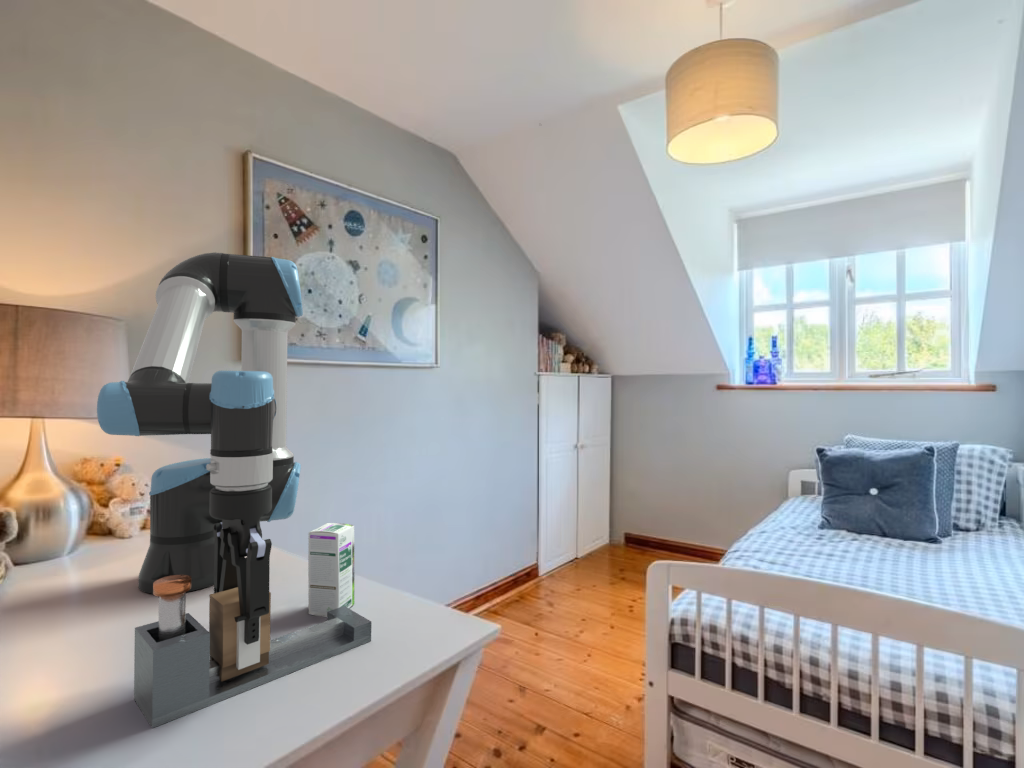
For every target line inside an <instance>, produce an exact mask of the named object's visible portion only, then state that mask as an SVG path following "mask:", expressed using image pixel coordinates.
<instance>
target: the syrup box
mask: <svg viewBox="0 0 1024 768" xmlns="http://www.w3.org/2000/svg"><path fill="white" fill-rule="evenodd" d="M307 535H308V538H307V539H308V543H307V545H308V549H307V550H308V551H307V552H308V553H307V554H308V558H307V559H308V567H307V568H308V569H307V571H308V614H309V615H311V616H317V617H325V618H327V612H328V611H331V610H334V609H337V608H340V607H343V606H345V607H347V608H349V609H351V607H352V606H354V605H355V524H350V523H341V522H329V523H328V522H326V523H324V524H323V525H321V526H319V527H317V528H315V529H313V530H311V531H309V532H308V533H307Z"/></svg>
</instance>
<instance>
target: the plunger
mask: <svg viewBox="0 0 1024 768" xmlns="http://www.w3.org/2000/svg"><path fill="white" fill-rule="evenodd" d="M190 589H191V576H189V575H172V576H167V577H163V578H160V579H158V580H156V581H155V582H154V583H153V594H152V595H153V596H155V597H158V621H159V640H158V642H161V641H164V640H167V639H171V638H174V637H177V636H181V635H184V634H185V614H186V607H187V606H186V598H187V597H186V596H187V595H186V594H187V593H188V592H190V591H189V590H190ZM187 591H188V592H187Z"/></svg>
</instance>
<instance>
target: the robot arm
mask: <svg viewBox="0 0 1024 768" xmlns="http://www.w3.org/2000/svg"><path fill="white" fill-rule="evenodd" d="M298 270H299V269H298V267H297V264H296V263H295V262H294V261H292V260H290V259H284V258H277V257H274V256H261V255H248V254H246V255H245V254H235V253H234V254H233V253H224V252H216V251H215V252H206V253H202V254H197V255H195V256H191V257H189V258H187V259H185V260H183V261H181V262H179V263H177V264H176V265H175V266H174V267H172V268H171V269H170V270H169V271H168V272H166V273H165V274H164V276H163V277H161V280H160V282H159V283H158V286H157V288H156V291H155V301H156V303H157V306H156V309H155V311H154V314H153V316H152V318H151V321H150V324H149V326H148V329H147V331H146V334H145V336H144V339H143V342H142V344H141V347H140V349H139V352H138V354H137V356H136V360H135V362H134V365H133V368H132V370H131V372H130V374H129V377H128V379H127V381H125V380H120V381H118V382H117V381H116V382H115V381H114V382H113V381H111V382H108V383H106V384H104V385H103V386H102V387H101V388H100V390H99V393H98V396H97V400H96V417H97V421H98V425H99V427H100V429H101V430H102V431H103V432H104V433H105V434H108V435H111V436H133V437H134V436H135V437H141V436H169V435H170V436H171V435H173V436H174V435H210V450H209V451H210V452H209V454H210V457H207V458H204V457H203V458H198V459H191V460H186V461H180V462H175V463H170V464H167V465H163V466H161V467H159V468H158V469H156V470H154V472H153V473H152V475H151V478H150V479H151V480H150V481H151V482H150V491H149V492H148V493H149V494H148V495H149V497H150V498H149V500H150V502H149V503H150V504H149V509H150V511H149V514H150V515H149V524H150V525H149V538H150V539H149V546H148V549H147V552H146V555H145V558H144V560H143V562H142V565H141V568H140V570H139V573H138V583H137V584H138V589H139V590H140V591H141V592H144V593H147V594H152V595H153V583H154V582H155V581H156V580H158V579H160V578H163V577H167V576H172V575H189V576H191V589H190V590H189V591H187V592H186V593H188V592H193V591H196V590H197V591H198V590H201V589H204V588H208V587H211V586H213V594H214V593H217V592H221V591H225V590H229V589H233V588H237V587H238V593H239V605H240V616H237V617H234V619H235V621H236V622H237V650H236V668H237V669H238V670H239V669H242V668H245V667H248V666H250V665H253V664H256V663H258V662H260V616H263V615H266V614H268V613H269V592H270V558H271V557H270V556H271V552H272V547H273V546H272V544H273V543H272V539H270V538H268V539H267V538H266V539H263V533H262V528H261V522H267V523H270V522H272V521H279V520H286V519H288V518H291V517H292V516H293V515H294V512H295V507H296V503H297V497H298V490H299V482H300V477H301V476H300V474H301V469H302V468H301V466H302V464H301V463H300V462H298V461H295V462H294V460H295V459H294V456H295V455H294V453H293V452H292V451H291V450H290V449H289V448H288V447H287V402H288V401H287V398H288V334H289V332H290V331H291V330H292V329H293V328H294V327H295V326H296V323H297V322H296V318H299V317H302V316H303V315H304V311H303V308H304V307H303V303H302V302H303V301H302V292H301V291H302V290H301V283H300V277H299V271H298ZM214 312H216V313H217V312H219V313H220V312H221V313H231V314H233V323H234V324H235V325H236V326H238V327H239V329H240V330H241V356H240V357H241V363H240V365H241V369H240V370H218V371H216V372H214V373H213V374H212V377H211V382H210V383H209V382H208V383H205V382H201V383H198V382H190V380H191V379H190V378H191V375H192V371H193V367H194V365H195V364H194V363H195V360H196V356H197V351H198V347H199V344H200V340H201V337H202V333H203V329H204V326H205V322H206V319H208V318H209V317H210V316H211V315H212V314H213V313H214Z"/></svg>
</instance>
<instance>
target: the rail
mask: <svg viewBox="0 0 1024 768" xmlns="http://www.w3.org/2000/svg"><path fill="white" fill-rule="evenodd" d="M326 618H327V619H326V621H322V622H320V623H317V624H314V625H312V626H309V627H305V628H302V629H299V630H296V631H294V632H291V633H288V634H284V635H282V636H279V637H276V638H273V639H270V651H269V664H267V665H265V666H262V667H259V668H257V669H254V670H251V671H249V672H246V673H243V674H241V675H238V676H235V677H233V678H230V679H227V680H225V681H222V682H221V680H220V679H219V664H218V663H217V662H216V661H215V660H212V661H210V633H209V630H207V629H206V628H205V627H204V626H203V625H202V624H201V623H200V621H198V620H197V619H196V618H195V617H193V615H191V614H190V613H189V612H188V613H187V612H185V634H184V635H181V636H177V637H174V638H171V639H167V640H164V641H161V642H158V640H159V620H158V621H154V622H150V623H147V624H146V623H145V624H143V625H140V626H137V627H136V626H135V627H134V655H133V656H134V658H133V659H134V662H133V663H134V668H133V669H134V670H133V671H134V674H133V676H134V677H133V679H134V680H133V684H134V685H133V699H134V702H135V701H136V702H135V703H136V704H138V705H137V706H138V708H139V710H140V709H141V710H140V711H141V713H142V712H143V713H142V714H143V716H144V717H146V718H145V719H146V720H147V722H148V724H149V726H150V727H151V729H154V728H156V727H159V726H161V725H164V724H166V723H170V722H171V721H173V720H174V721H175V720H177V719H179V718H182V717H185V716H187V715H189V714H192V713H195V712H197V711H199V710H202V709H204V708H207V707H209V706H212V705H214V704H216V703H219V702H222V701H224V700H226V699H230V698H231V697H234V696H237V695H238V694H239V695H240V694H242V693H244V692H247V691H249V690H252V689H254V688H257V687H259V686H262V685H264V684H266V683H270V682H272V681H275V680H277V679H280V678H281V677H284V676H286V675H287V676H288V675H290V674H292V673H294V672H297V671H299V670H302V669H304V668H307V667H309V666H312V665H314V664H317V663H319V662H322V661H324V660H327V659H329V658H331V657H335V656H337V655H340V654H341V653H345V652H347V651H349V650H351V649H354V648H357V647H359V646H362V645H364V644H366V643H369V642H371V641H372V621H371V620H370V619H368V618H366V617H365V616H362V615H361V614H359V613H357V612H355V611H354V610H352V609H351V608H347V607H345V606H343V607H340V608H337V609H334V610H331V611H328V612H327V617H326Z"/></svg>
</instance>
